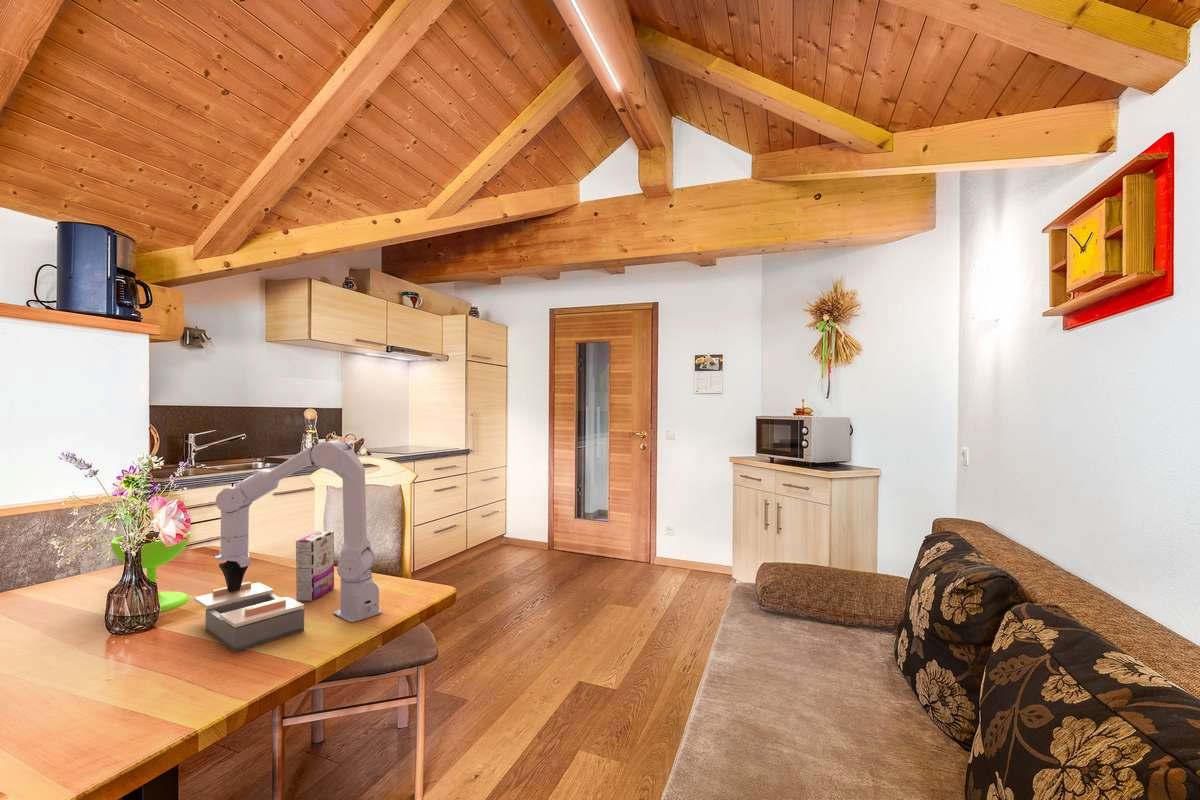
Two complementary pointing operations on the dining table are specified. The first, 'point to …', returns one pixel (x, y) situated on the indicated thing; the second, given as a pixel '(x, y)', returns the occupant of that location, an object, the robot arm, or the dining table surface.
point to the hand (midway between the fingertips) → (234, 591)
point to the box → (252, 625)
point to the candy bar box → (314, 565)
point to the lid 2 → (261, 611)
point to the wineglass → (152, 558)
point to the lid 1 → (232, 595)
